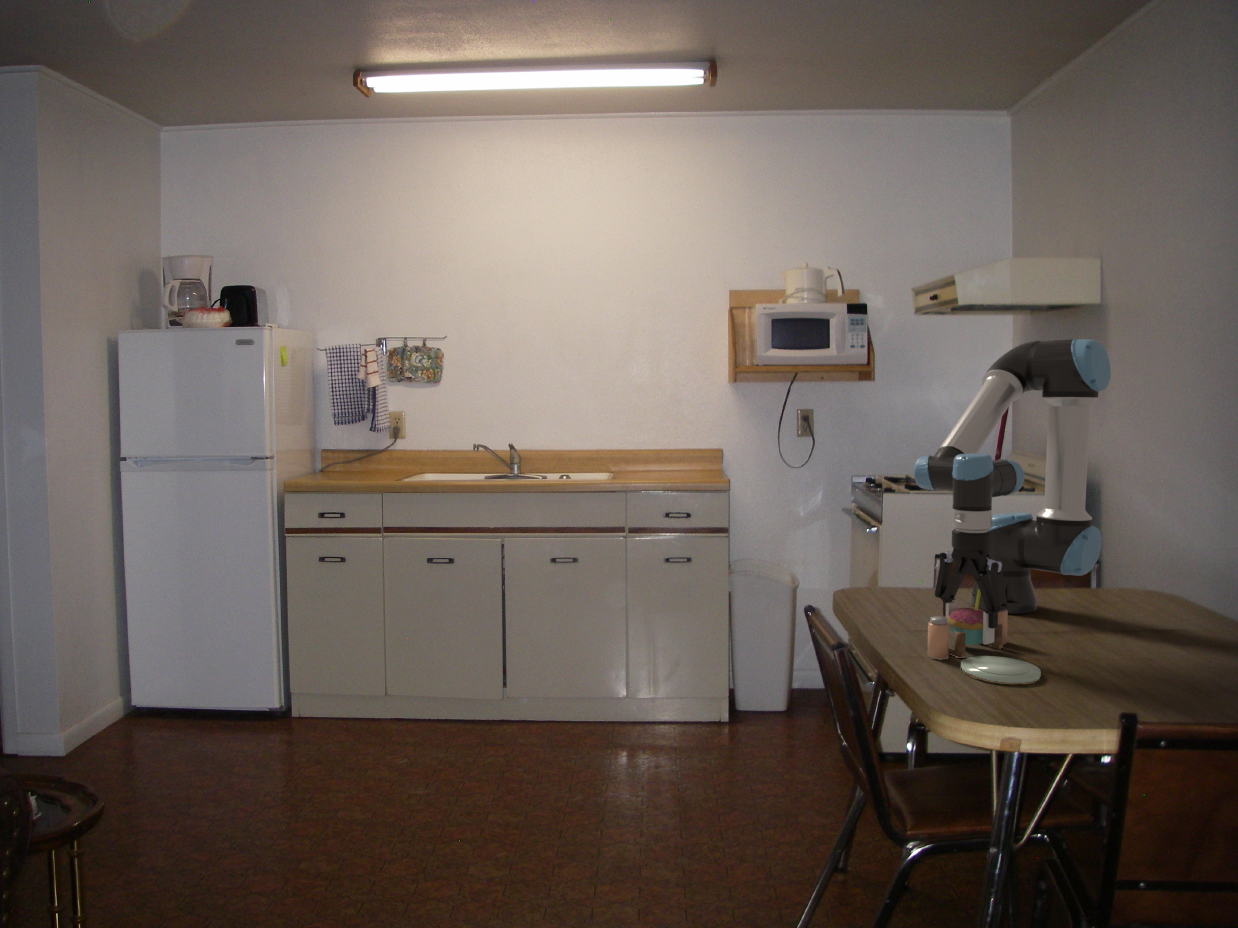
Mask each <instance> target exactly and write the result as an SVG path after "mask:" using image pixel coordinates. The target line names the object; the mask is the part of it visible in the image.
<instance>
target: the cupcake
mask: <svg viewBox="0 0 1238 928" xmlns="http://www.w3.org/2000/svg"><path fill="white" fill-rule="evenodd" d="M980 595H981V592H980V589H978V593H977V598H976V603H975V607H974V606H971V607H969V606H967V607H959V608H957V609H956V610H954V611H953V612H951V613H950V614H949V617H948V623H949V624H951V625H952V626H953V628H954V630H955V632H964V633H966V639H965V645H969V646H973V645H974V646H975V645H981V643H982V641H983V612H985V610H982V609H978V605H979V600H980Z"/></svg>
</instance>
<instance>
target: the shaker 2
mask: <svg viewBox="0 0 1238 928" xmlns="http://www.w3.org/2000/svg"><path fill="white" fill-rule="evenodd" d="M1008 614H1009V613H1008V611H1007V610H1004V611H1000V612H998V623H1000V624H1002V625H1003V628H1002V644H1003V646H1005V645H1004V644H1006V643H1007V642H1008V636H1007V635H1008V617H1009V615H1008ZM1006 645H1007V644H1006Z"/></svg>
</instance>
